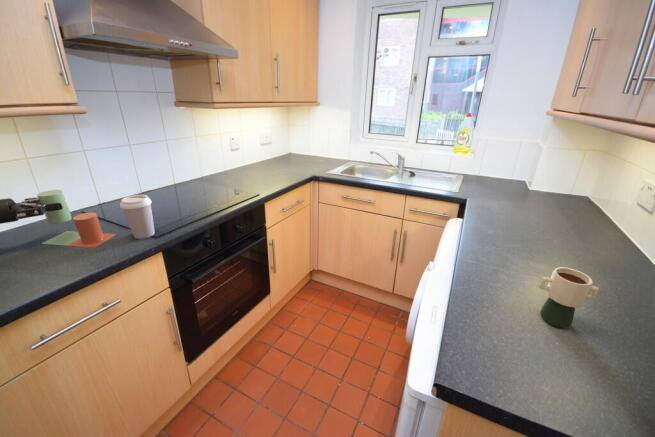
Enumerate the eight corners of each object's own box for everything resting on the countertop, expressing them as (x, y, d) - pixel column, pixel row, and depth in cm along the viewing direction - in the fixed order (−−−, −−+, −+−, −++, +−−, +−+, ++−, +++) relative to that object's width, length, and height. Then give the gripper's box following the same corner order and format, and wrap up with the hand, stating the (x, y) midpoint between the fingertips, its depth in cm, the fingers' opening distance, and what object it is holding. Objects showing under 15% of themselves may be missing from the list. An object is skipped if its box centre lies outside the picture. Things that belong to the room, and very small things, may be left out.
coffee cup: (165, 233, 111) (156, 195, 105) (143, 245, 103) (132, 204, 97) (146, 229, 114) (137, 192, 108) (123, 240, 106) (111, 200, 100)
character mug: (576, 316, 73) (596, 272, 68) (587, 337, 67) (610, 290, 62) (525, 305, 77) (540, 262, 72) (531, 323, 71) (548, 278, 66)
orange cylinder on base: (94, 244, 101) (85, 220, 97) (76, 243, 102) (67, 219, 98) (108, 235, 107) (101, 213, 103) (92, 234, 107) (84, 212, 104)
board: (95, 249, 100) (94, 247, 99) (41, 246, 101) (40, 243, 101) (117, 236, 109) (116, 234, 108) (67, 233, 110) (66, 230, 110)
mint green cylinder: (67, 222, 101) (57, 195, 97) (44, 225, 99) (32, 196, 95) (75, 215, 106) (65, 189, 102) (53, 217, 104) (42, 190, 100)
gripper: (-19, 208, 86) (56, 198, 94) (-5, 194, 96) (61, 186, 105) (-8, 231, 89) (64, 220, 97) (5, 215, 99) (68, 206, 108)
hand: (62, 202), depth 101 cm, fingers closed on mint green cylinder, 6 cm apart
